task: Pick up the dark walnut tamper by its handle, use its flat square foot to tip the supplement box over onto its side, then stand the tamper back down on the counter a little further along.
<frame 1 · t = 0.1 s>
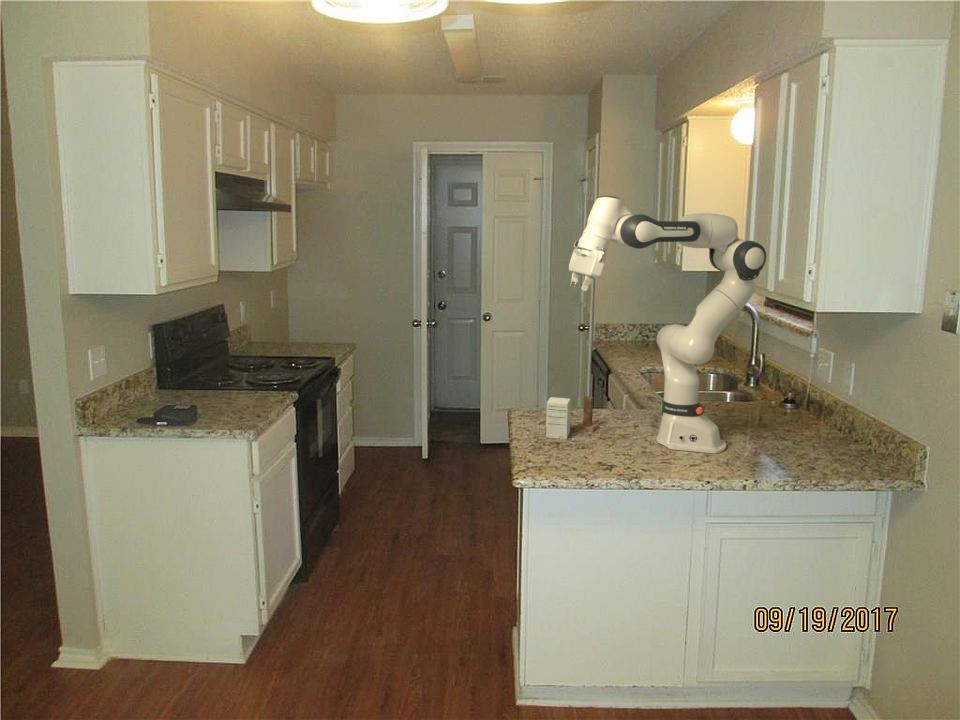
hand: (577, 288, 233), 52 cm above the worktop, tool tilted 20°, fingers open, 8 cm apart
walnut tamper: (587, 428, 266), on the worktop
supplement box: (557, 436, 257), on the worktop
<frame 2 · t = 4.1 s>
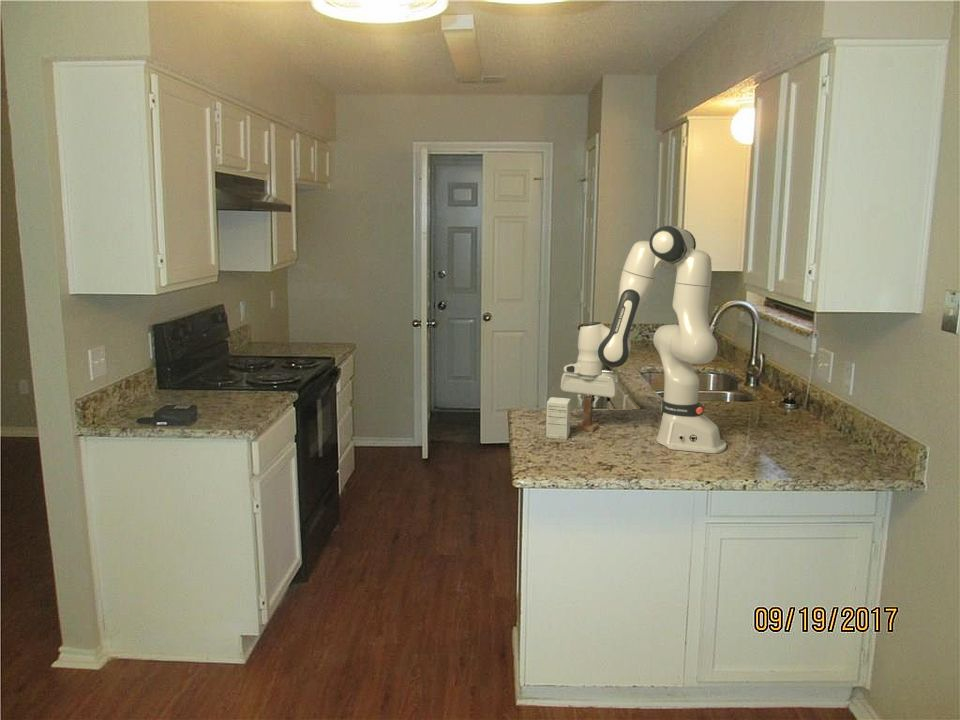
hand: (588, 406, 264), 8 cm above the worktop, tool pointing down, fingers closed on walnut tamper, 2 cm apart
walnut tamper: (587, 428, 266), on the worktop, touching gripper
everything else where it was.
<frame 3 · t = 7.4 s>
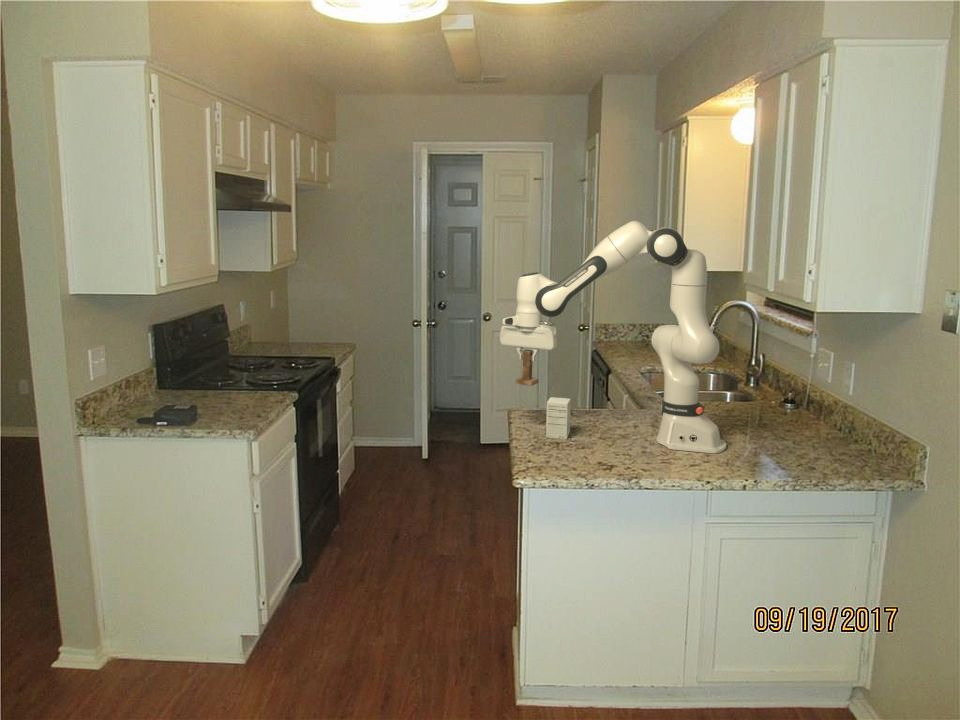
hand: (527, 360, 258), 25 cm above the worktop, tool pointing down, fingers closed on walnut tamper, 2 cm apart
walnut tamper: (527, 383, 259), point 17 cm above the worktop, touching gripper
everything else where it was.
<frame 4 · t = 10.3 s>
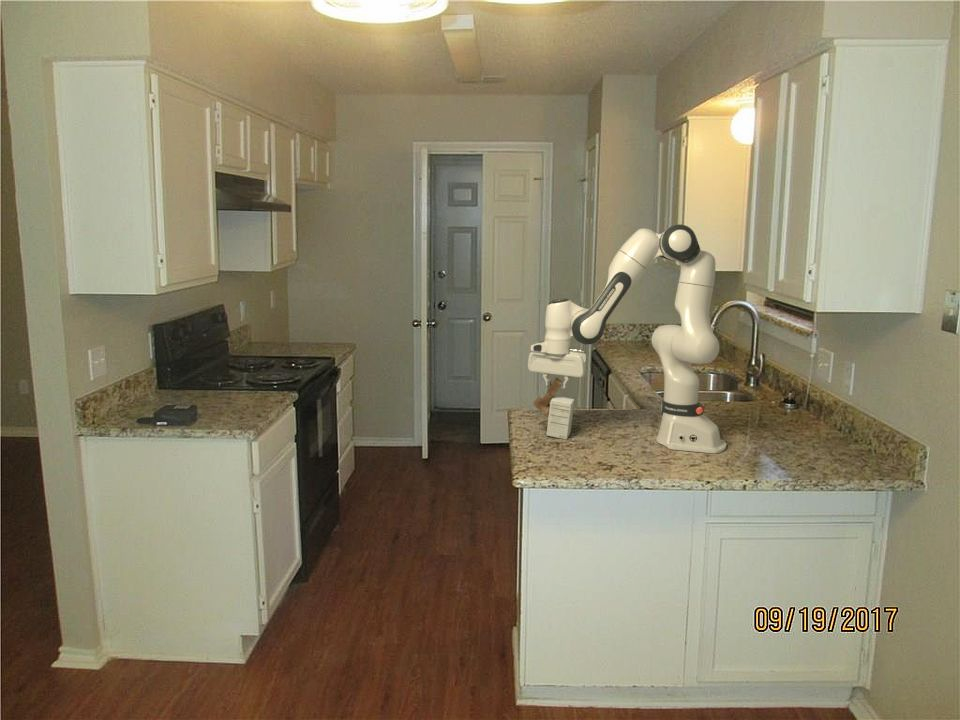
hand: (556, 387, 254), 17 cm above the worktop, tool pointing down, fingers closed on walnut tamper, 4 cm apart
walnut tamper: (541, 407, 258), point 9 cm above the worktop, tilted 31°, touching gripper, supplement box
supplement box: (558, 435, 257), on the worktop, touching walnut tamper
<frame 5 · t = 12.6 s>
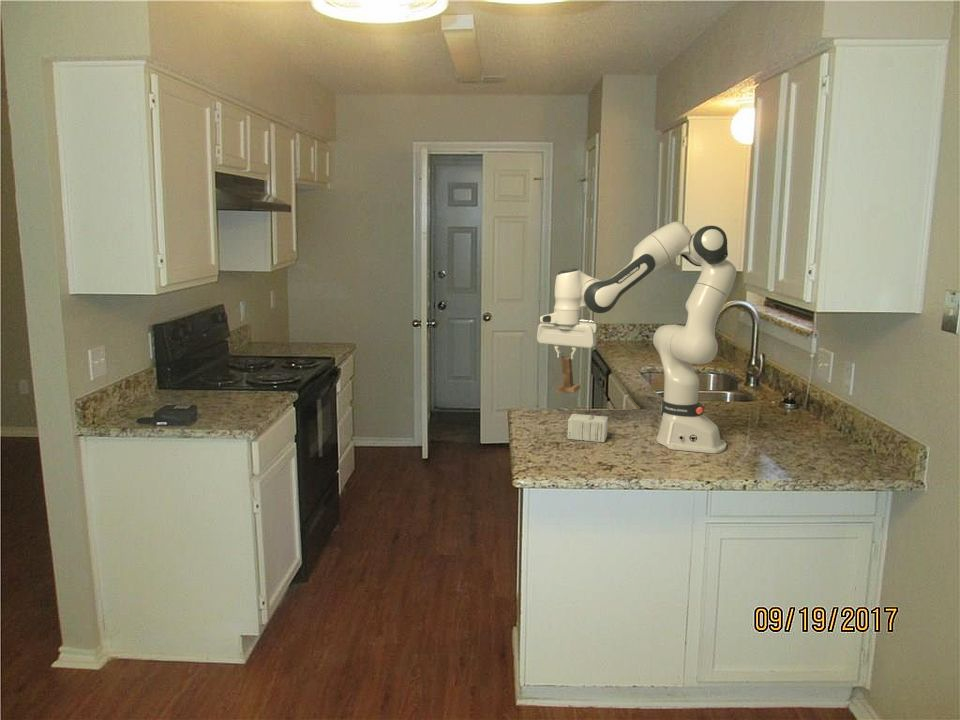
hand: (565, 358, 251), 27 cm above the worktop, tool pointing down, fingers closed on walnut tamper, 2 cm apart
walnut tamper: (568, 390, 254), point 16 cm above the worktop, tilted 6°, touching gripper
supplement box: (568, 426, 255), point 4 cm above the worktop
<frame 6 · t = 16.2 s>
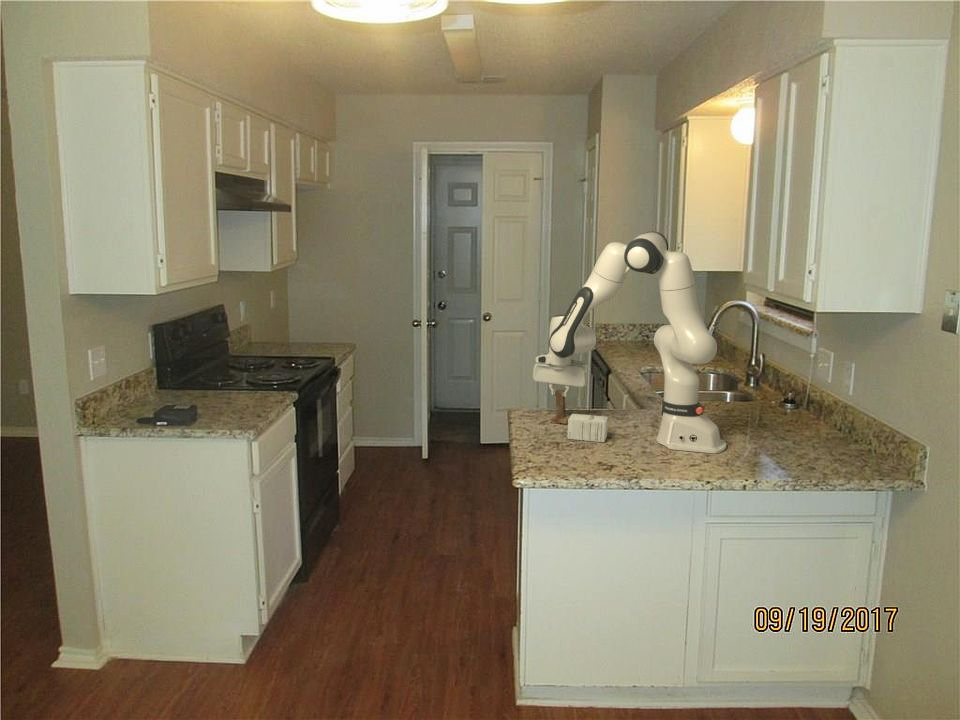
hand: (559, 396, 272), 10 cm above the worktop, tool pointing down, fingers closed on walnut tamper, 3 cm apart
walnut tamper: (561, 421, 274), on the worktop, touching gripper
everything else where it was.
when the fingers open (10 cm above the worktop, at t = 16.4 s): walnut tamper stays where it is, on the worktop.
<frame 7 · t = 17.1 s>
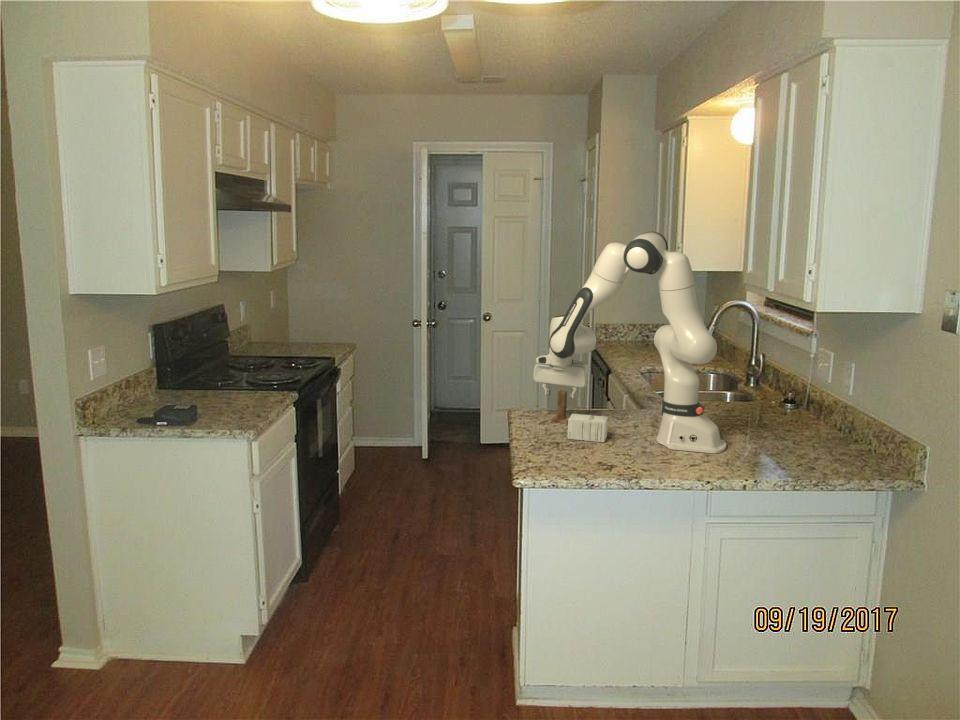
hand: (559, 396, 272), 10 cm above the worktop, tool pointing down, fingers open, 8 cm apart
walnut tamper: (561, 422, 274), on the worktop
everything else where it was.
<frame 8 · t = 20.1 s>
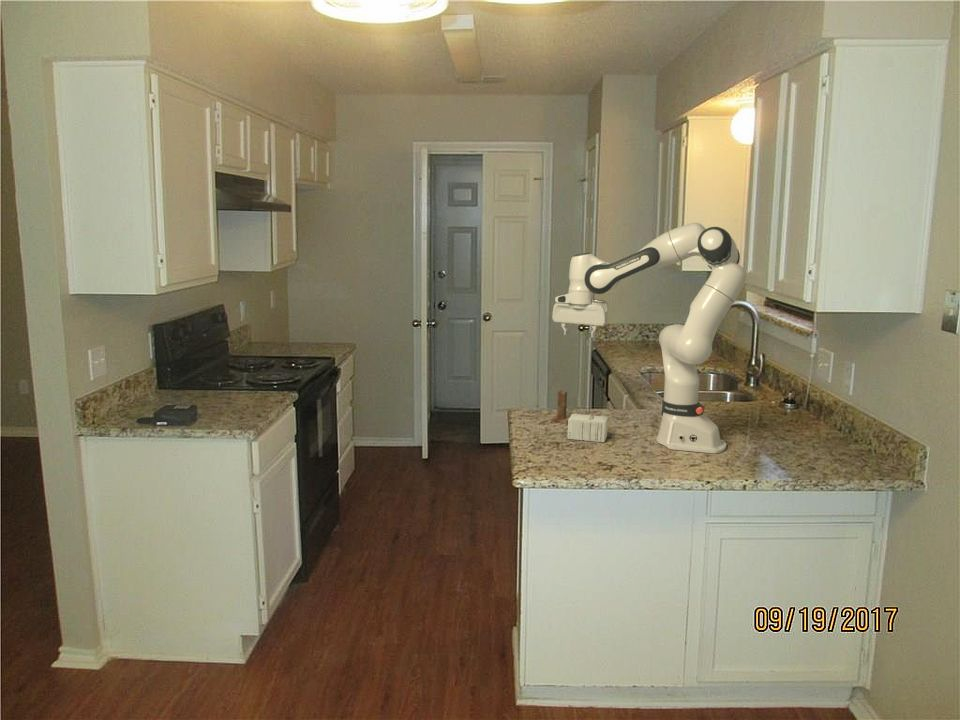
hand: (579, 336, 272), 31 cm above the worktop, tool pointing down, fingers open, 8 cm apart
nothing on the worktop moved.
at the end: supplement box tilted 90°; walnut tamper inside the target area (0.9 cm from its centre), on the worktop; walnut tamper tilted 0° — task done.
